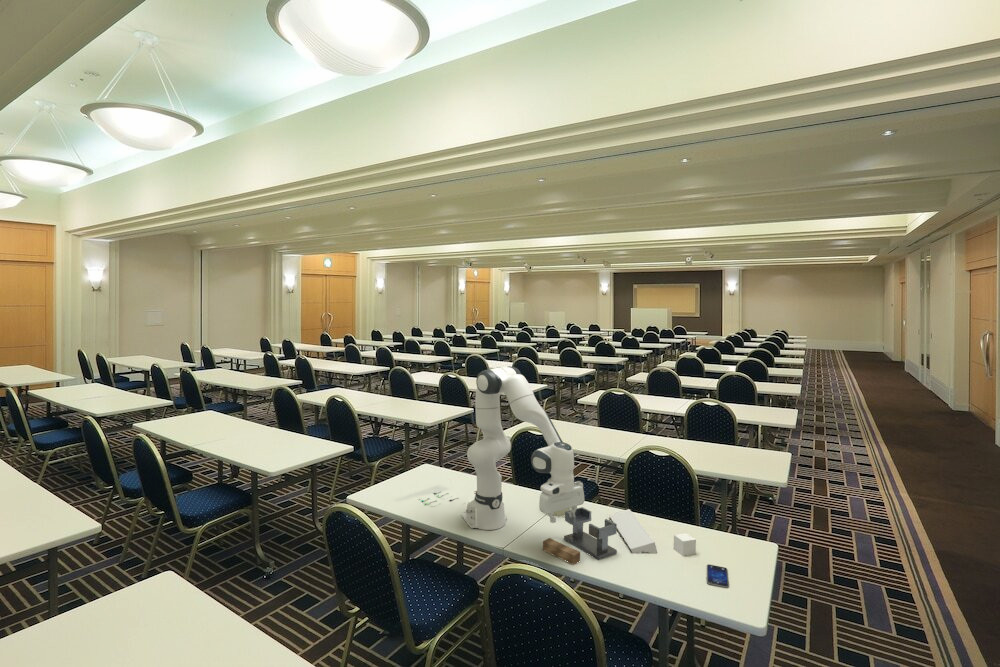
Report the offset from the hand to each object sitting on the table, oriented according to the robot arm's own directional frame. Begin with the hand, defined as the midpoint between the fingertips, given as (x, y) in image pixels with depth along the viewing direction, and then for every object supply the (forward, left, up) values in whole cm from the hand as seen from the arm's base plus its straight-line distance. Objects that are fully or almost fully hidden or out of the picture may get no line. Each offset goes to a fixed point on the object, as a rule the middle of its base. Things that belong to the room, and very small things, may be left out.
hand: (562, 519), depth 201 cm
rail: (0, 0, -15) cm, 15 cm away
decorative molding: (0, +38, -15) cm, 41 cm away
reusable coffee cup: (-34, +27, -15) cm, 46 cm away
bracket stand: (0, +15, -15) cm, 21 cm away
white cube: (+23, +45, -15) cm, 52 cm away
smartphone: (+42, +39, -15) cm, 59 cm away
